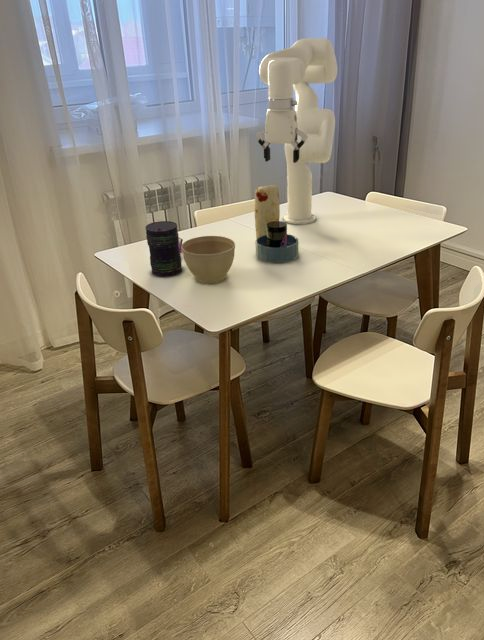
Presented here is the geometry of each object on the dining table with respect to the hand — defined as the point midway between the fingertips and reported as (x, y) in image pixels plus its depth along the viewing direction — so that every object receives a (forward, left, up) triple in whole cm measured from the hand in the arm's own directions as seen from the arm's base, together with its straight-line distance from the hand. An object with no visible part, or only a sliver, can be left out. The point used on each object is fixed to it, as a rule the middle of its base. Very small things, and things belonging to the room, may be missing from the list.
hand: (281, 161), depth 177 cm
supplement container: (+12, +2, -28) cm, 30 cm away
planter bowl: (+35, -12, -28) cm, 47 cm away
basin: (+12, +2, -28) cm, 31 cm away
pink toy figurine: (+19, -32, -28) cm, 47 cm away
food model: (-1, -6, -28) cm, 29 cm away
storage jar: (+34, -28, -28) cm, 52 cm away
